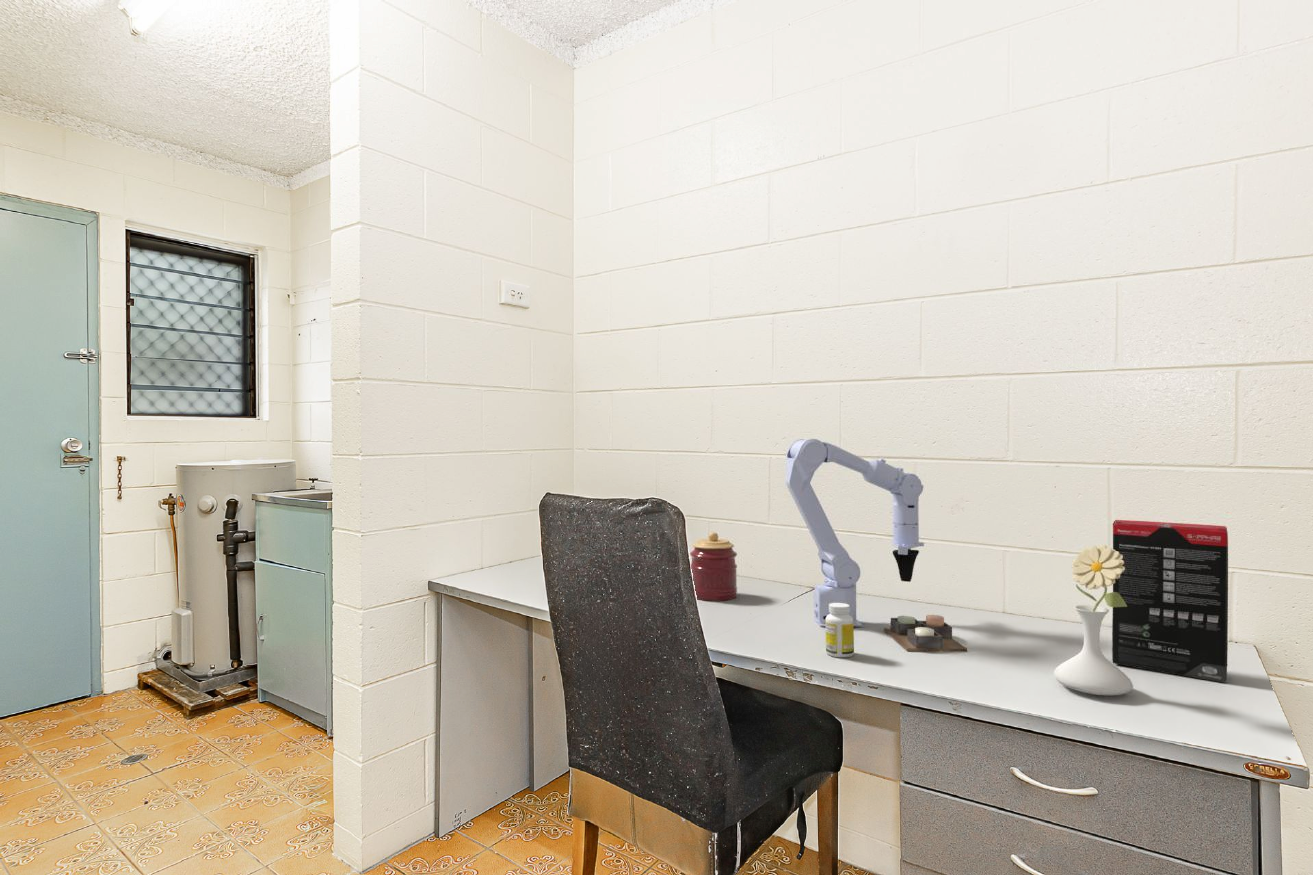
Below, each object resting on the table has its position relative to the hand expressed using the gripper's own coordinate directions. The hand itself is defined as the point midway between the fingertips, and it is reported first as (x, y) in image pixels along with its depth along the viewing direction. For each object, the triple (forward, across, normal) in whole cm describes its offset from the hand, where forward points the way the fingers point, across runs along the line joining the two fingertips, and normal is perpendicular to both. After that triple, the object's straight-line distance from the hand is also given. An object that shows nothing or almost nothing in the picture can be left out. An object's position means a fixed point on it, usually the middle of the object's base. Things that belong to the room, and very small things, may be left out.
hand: (906, 581), depth 161 cm
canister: (+10, +6, +51) cm, 52 cm away
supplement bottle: (+10, -33, +10) cm, 35 cm away
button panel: (+9, -16, -5) cm, 19 cm away
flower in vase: (+10, -36, -33) cm, 50 cm away
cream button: (+8, -21, -6) cm, 23 cm away
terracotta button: (+7, -12, -7) cm, 16 cm away
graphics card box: (+10, -17, -47) cm, 51 cm away
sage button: (+8, -12, -1) cm, 15 cm away
